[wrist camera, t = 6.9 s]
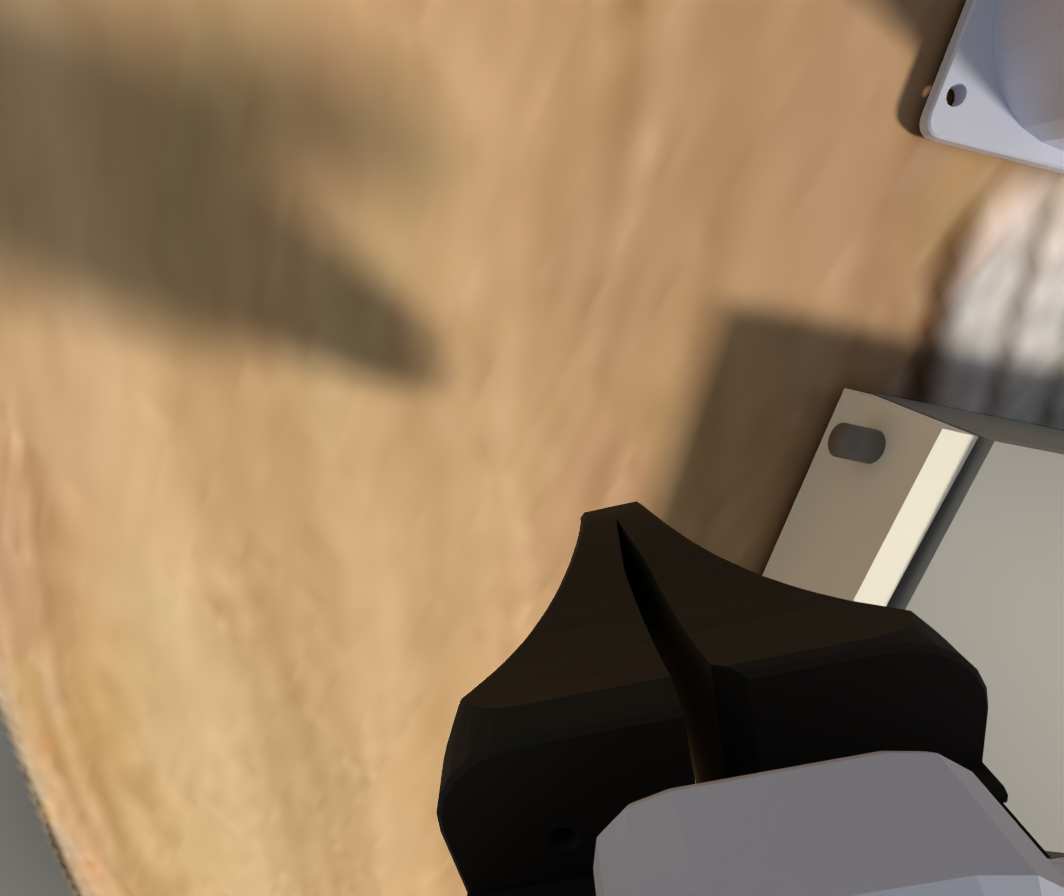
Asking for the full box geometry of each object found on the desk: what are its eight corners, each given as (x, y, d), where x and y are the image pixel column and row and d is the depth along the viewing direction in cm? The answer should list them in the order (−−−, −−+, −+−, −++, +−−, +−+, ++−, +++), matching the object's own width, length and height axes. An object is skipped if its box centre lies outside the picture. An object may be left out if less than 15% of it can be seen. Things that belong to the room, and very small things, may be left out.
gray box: (869, 391, 17) (995, 440, 13) (1283, 473, 19) (1527, 544, 14) (735, 703, 22) (792, 821, 17) (1077, 750, 23) (1211, 869, 19)
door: (815, 381, 17) (905, 420, 13) (876, 395, 17) (982, 437, 13) (676, 714, 21) (711, 816, 17) (725, 722, 22) (770, 823, 18)
